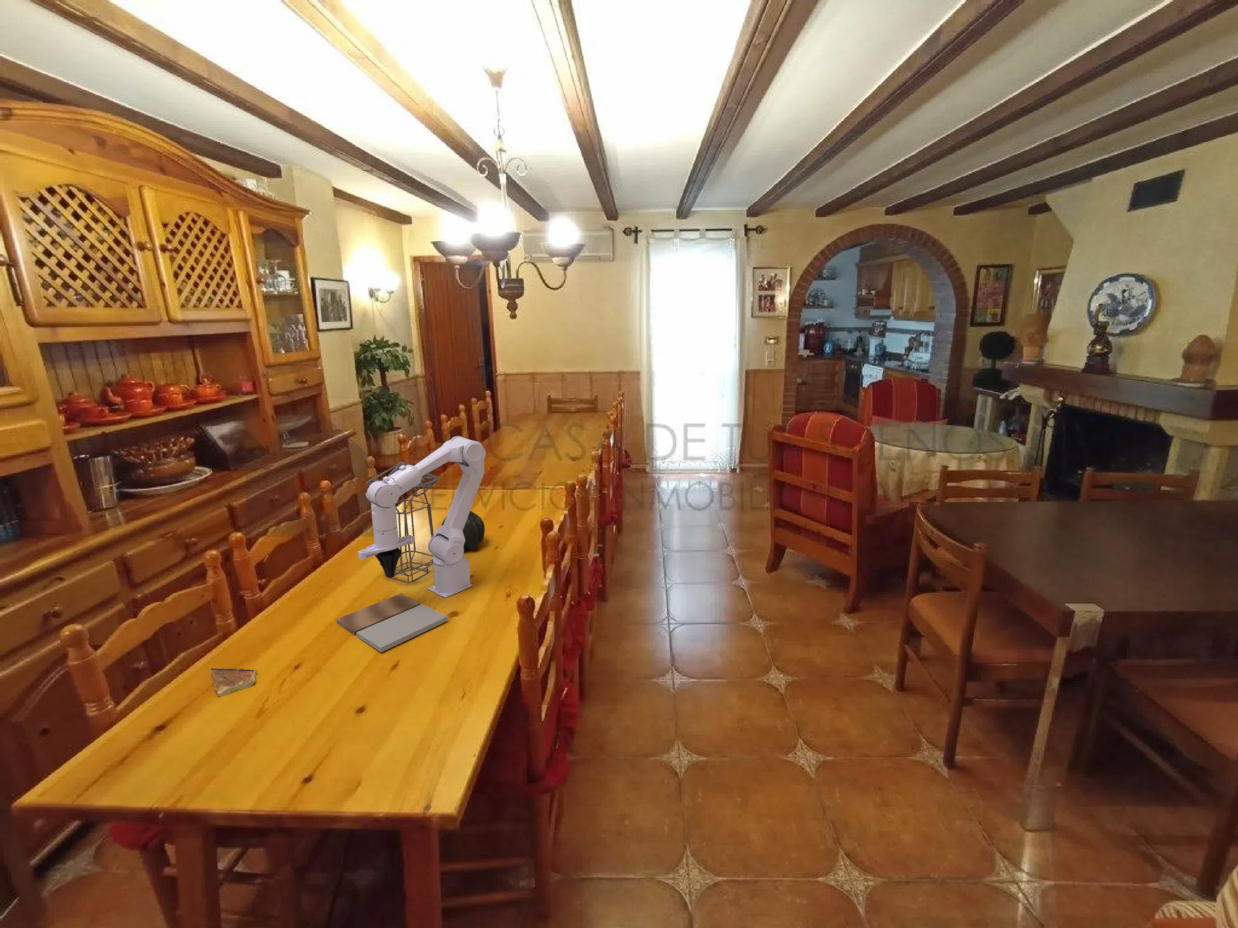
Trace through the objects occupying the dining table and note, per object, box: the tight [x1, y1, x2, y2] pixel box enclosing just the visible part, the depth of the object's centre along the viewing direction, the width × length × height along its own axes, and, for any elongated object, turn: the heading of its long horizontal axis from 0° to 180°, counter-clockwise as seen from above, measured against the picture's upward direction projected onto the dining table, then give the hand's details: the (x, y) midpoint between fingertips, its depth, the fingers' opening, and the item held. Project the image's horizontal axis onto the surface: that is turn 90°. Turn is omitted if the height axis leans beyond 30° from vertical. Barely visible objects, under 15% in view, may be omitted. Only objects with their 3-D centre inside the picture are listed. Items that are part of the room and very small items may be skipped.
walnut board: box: [335, 593, 421, 637], centre depth 144 cm, size 18×9×1 cm, turn 142°
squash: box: [440, 510, 486, 552], centre depth 187 cm, size 14×15×15 cm
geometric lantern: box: [365, 461, 441, 584], centre depth 163 cm, size 16×16×35 cm
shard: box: [210, 668, 258, 698], centre depth 118 cm, size 11×8×2 cm
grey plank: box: [356, 603, 448, 653], centre depth 138 cm, size 18×11×1 cm, turn 142°
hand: (389, 576), depth 145 cm, fingers closed
